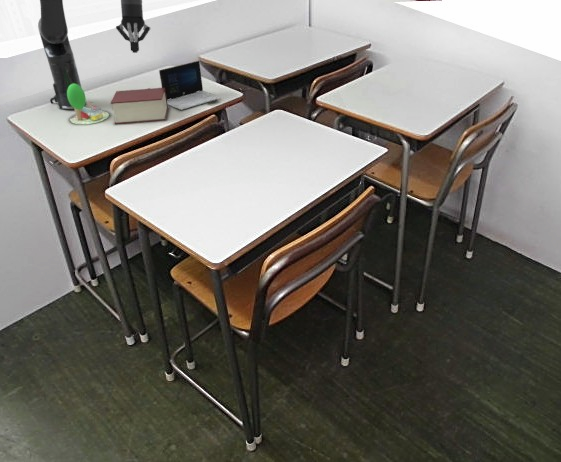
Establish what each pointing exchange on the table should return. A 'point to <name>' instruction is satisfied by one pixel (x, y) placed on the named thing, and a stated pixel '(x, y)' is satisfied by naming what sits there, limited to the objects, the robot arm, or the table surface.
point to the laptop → (184, 86)
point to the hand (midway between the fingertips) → (135, 52)
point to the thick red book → (140, 105)
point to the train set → (83, 107)
